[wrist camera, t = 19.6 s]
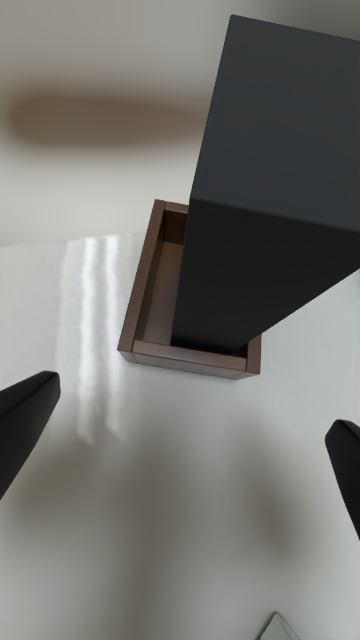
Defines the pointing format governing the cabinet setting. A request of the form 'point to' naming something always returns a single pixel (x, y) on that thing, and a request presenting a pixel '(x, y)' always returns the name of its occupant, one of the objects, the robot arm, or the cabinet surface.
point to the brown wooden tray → (171, 307)
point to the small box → (278, 630)
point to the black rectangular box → (271, 185)
